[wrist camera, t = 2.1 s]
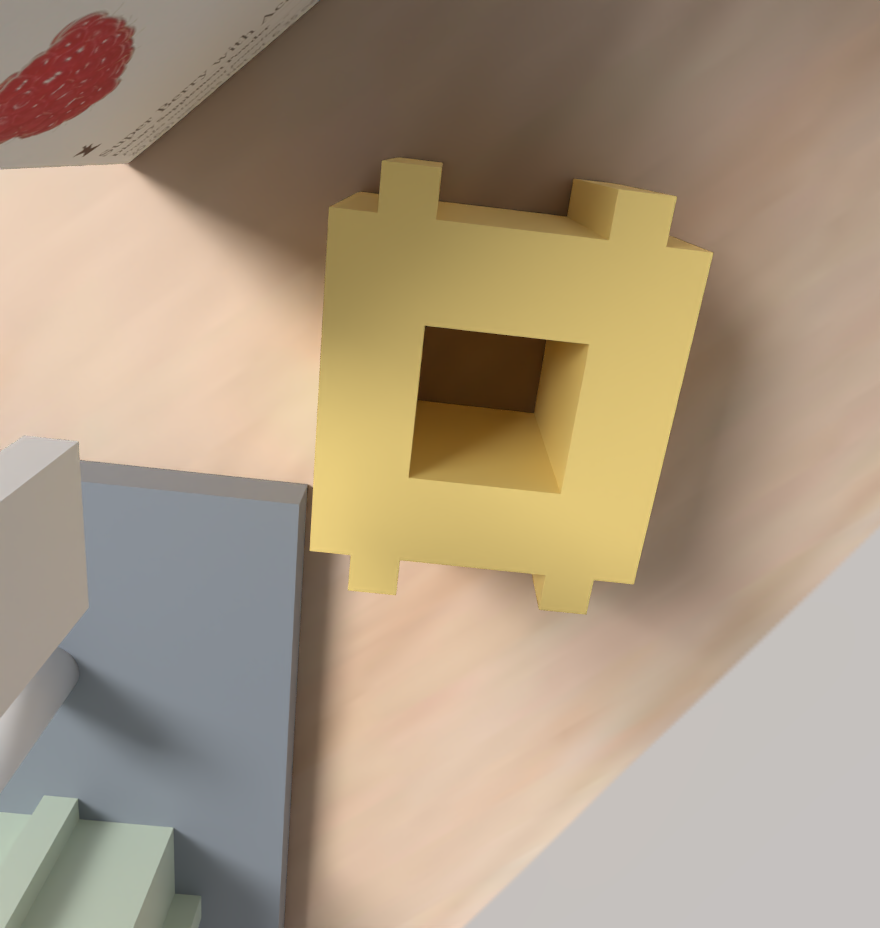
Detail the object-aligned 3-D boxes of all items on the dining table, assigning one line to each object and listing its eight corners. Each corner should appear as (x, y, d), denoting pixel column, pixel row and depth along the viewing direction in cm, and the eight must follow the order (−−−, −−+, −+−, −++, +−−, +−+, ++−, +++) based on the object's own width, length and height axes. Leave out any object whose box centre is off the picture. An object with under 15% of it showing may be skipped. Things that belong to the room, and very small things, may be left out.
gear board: (-206, 430, 24) (-470, 544, 17) (307, 484, 25) (253, 616, 18) (-93, 953, 33) (-236, 1167, 26) (281, 984, 34) (238, 1201, 27)
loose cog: (362, 152, 21) (332, 154, 15) (652, 188, 21) (725, 202, 16) (338, 487, 25) (307, 586, 19) (585, 514, 25) (625, 618, 19)
